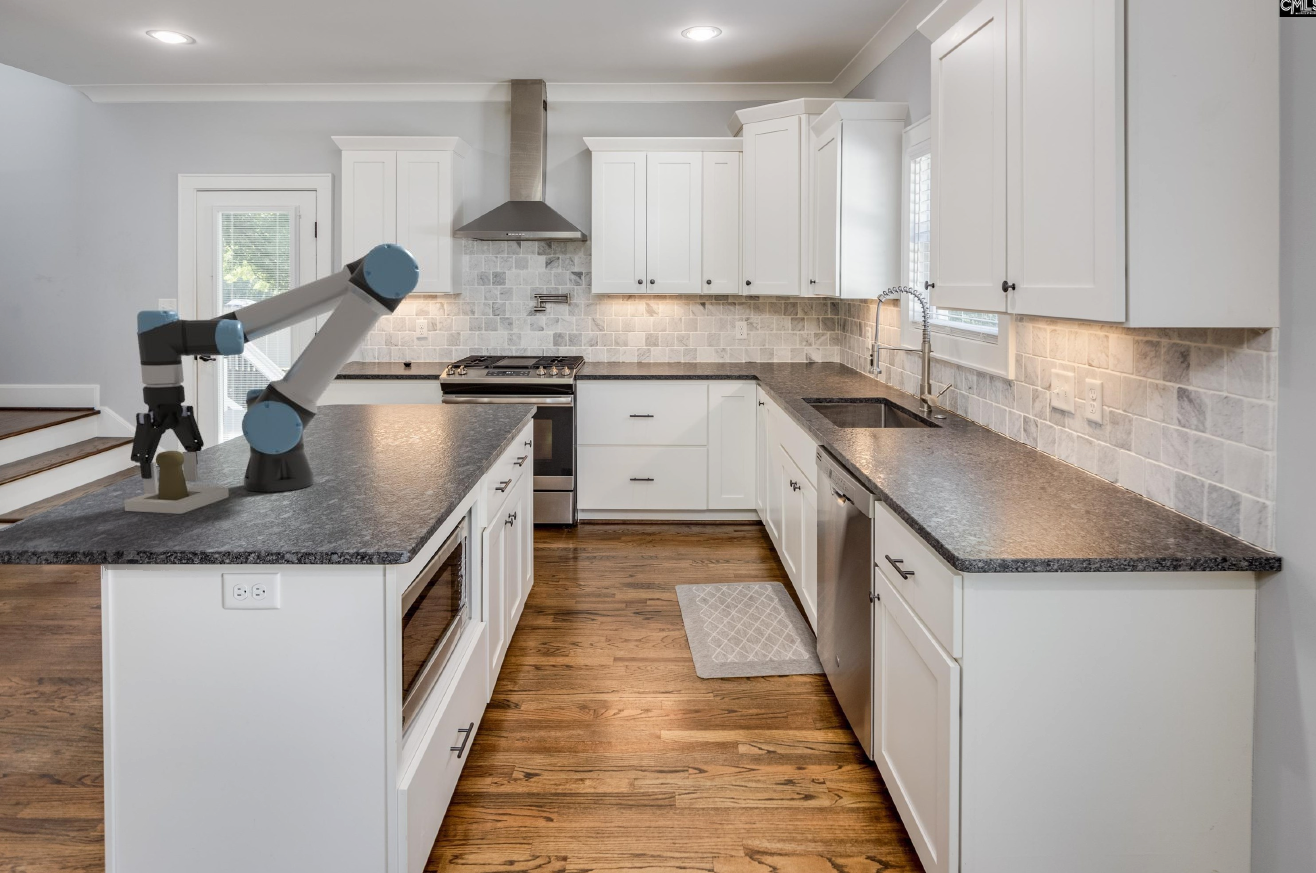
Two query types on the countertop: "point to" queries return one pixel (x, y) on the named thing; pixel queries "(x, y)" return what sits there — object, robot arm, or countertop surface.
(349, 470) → the countertop surface
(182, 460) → the cork
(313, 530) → the countertop surface
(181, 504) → the socket plate
